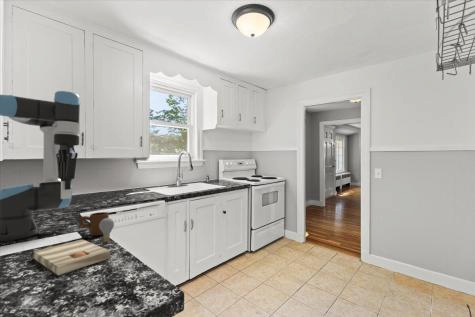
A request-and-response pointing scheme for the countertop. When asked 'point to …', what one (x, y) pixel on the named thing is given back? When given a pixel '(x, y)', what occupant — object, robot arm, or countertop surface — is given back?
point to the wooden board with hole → (70, 256)
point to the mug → (94, 222)
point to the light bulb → (106, 228)
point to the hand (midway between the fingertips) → (65, 198)
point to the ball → (79, 255)
